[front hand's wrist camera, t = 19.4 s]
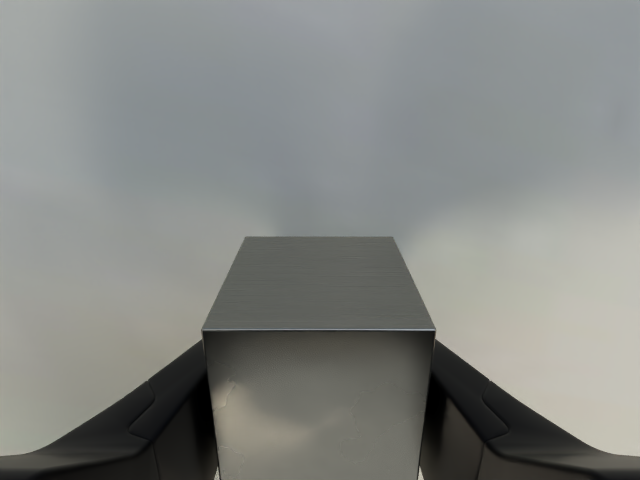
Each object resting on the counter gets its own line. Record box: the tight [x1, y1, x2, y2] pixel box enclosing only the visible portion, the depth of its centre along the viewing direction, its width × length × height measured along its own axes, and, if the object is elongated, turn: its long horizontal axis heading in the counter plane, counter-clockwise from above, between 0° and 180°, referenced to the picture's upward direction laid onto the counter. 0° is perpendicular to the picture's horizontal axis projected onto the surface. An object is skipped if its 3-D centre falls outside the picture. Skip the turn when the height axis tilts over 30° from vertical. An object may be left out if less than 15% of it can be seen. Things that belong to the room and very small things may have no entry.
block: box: [201, 237, 436, 480], centre depth 10 cm, size 5×4×5 cm
